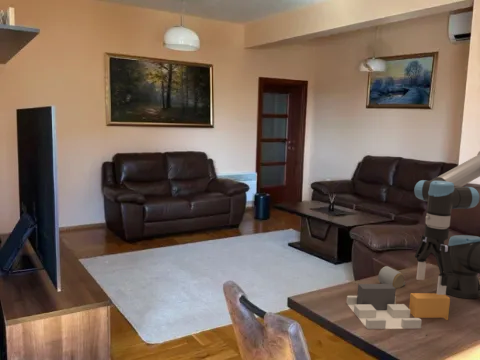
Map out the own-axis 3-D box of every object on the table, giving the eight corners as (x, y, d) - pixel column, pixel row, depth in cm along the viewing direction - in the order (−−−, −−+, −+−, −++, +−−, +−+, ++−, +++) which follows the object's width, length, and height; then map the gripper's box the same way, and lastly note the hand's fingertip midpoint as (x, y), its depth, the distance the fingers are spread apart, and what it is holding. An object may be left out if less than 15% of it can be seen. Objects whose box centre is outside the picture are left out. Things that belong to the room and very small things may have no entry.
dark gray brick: (388, 304, 160) (390, 283, 159) (393, 310, 155) (395, 288, 154) (356, 305, 158) (358, 283, 157) (361, 310, 154) (362, 288, 153)
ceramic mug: (393, 291, 175) (395, 273, 174) (377, 284, 182) (378, 267, 181) (410, 287, 181) (412, 269, 180) (393, 281, 188) (395, 263, 187)
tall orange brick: (440, 314, 156) (442, 293, 155) (447, 320, 151) (450, 298, 150) (408, 314, 154) (410, 293, 153) (414, 320, 150) (416, 298, 149)
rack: (393, 305, 162) (394, 295, 161) (420, 331, 142) (421, 320, 142) (346, 305, 160) (346, 295, 160) (367, 331, 140) (368, 320, 140)
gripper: (408, 218, 160) (403, 273, 163) (447, 235, 136) (439, 300, 138) (428, 218, 161) (422, 274, 164) (470, 236, 136) (461, 301, 139)
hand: (430, 286), depth 151 cm, fingers open, 13 cm apart
